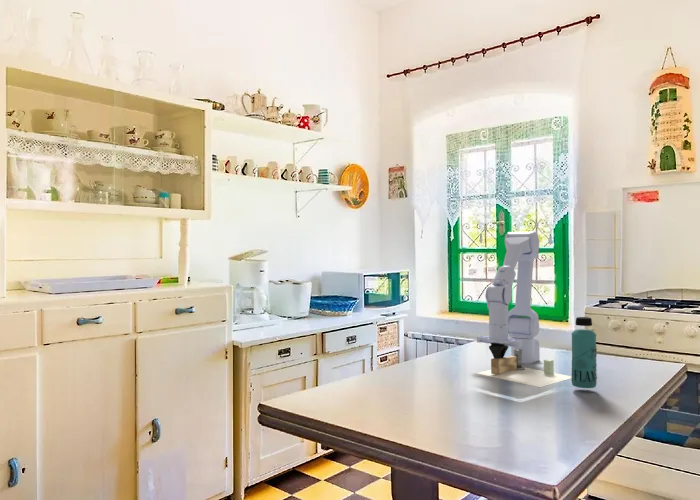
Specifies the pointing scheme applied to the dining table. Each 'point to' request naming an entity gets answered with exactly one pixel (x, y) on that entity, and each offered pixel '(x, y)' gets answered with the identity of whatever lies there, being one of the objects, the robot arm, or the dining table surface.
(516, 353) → the hinge post
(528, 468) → the dining table surface
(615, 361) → the dining table surface
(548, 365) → the latch post
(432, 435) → the dining table surface
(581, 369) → the beverage bottle
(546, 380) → the board
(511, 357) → the tan wooden bar
